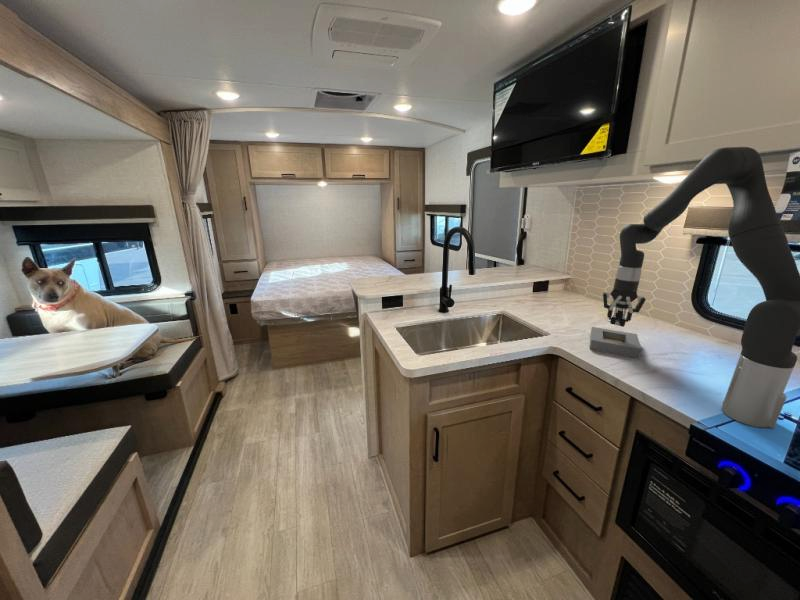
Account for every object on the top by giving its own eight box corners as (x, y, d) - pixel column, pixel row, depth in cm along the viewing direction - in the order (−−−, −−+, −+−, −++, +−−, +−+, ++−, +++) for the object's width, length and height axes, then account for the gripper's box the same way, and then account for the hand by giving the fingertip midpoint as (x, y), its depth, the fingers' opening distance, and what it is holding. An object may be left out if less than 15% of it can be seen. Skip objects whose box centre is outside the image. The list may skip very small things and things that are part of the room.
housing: (634, 343, 131) (636, 334, 130) (639, 358, 118) (641, 349, 116) (590, 335, 139) (591, 326, 137) (589, 349, 125) (591, 339, 124)
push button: (604, 323, 126) (609, 299, 123) (607, 320, 130) (612, 297, 127) (623, 328, 122) (629, 303, 119) (626, 324, 125) (632, 300, 122)
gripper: (605, 277, 120) (597, 319, 125) (652, 282, 113) (641, 326, 118) (605, 274, 126) (597, 314, 131) (649, 278, 119) (639, 320, 124)
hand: (618, 319), depth 125 cm, fingers closed on push button, 5 cm apart
